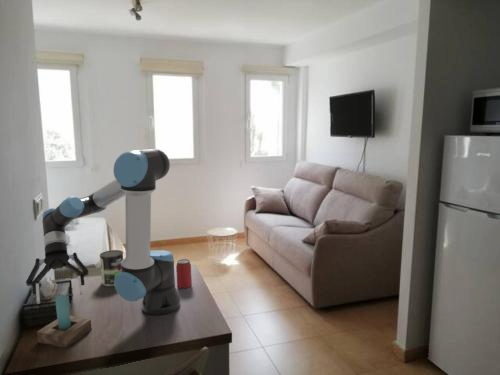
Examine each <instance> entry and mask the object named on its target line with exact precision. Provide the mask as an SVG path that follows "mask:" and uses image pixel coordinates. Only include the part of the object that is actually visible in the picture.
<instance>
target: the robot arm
mask: <svg viewBox="0 0 500 375" xmlns="http://www.w3.org/2000/svg"><path fill="white" fill-rule="evenodd" d="M170 168H171V164H170V160H169V157H168V155H167V154H166V153H165V152H164V151H162V150H161V149H158V148H147V149H146V148H145V149H135V150H134V149H132V150H130V151H125V152H123V153H121V154H120V155H119V156H118V157H117V158H116V159H115V162H114V164H113V176H114V178H115V179H113V180H112V181H111V182H108V183H107V184H105V185H104V186H103V187H101V188H99V189H98V190H96V191H94V192H93V193H91V194H89V195H88V196H84V197H81V198H80V197H78V196H68V197H67V198H65V199H64V200H62V201H61V203H59V205H58V206H57V207H56V208H55V207H54V208H48V209H46V210H45V211H43V213H42V222H41V224H42V231H43V242H44V243H43V245H44V258H43V259H42V258H35V263H34V266H33V268H32V270H31V271H30V274H29V275H28V277H27V279H26V281H25V283H26V286H27V287H31V288H32V290H31V291H32V294H33V295H34V296H35V295H36V297H35V298H36V304H37V305H38V304H40V305H41V301H40V300H41V298H40V297H41V296H40V284H39V283H40V282H41V281H42V280H43V278H44V277H45V275H47V274H48V273H49V272H50V271H51V270H57V269H63V267H64V268H66V269H67V270H69V271H70V272H72V273H73V274H74V275H76V276H77V277H78V278H77V280H78V288H79V296H83V289H82V288H83V287H82V286H84V285H85V277H86V276H89V270H88V269H87V267H86V266H85V264H84V263H83V262H82V261H81V260H80V259H79V257H78V255H77V252H73V254H68V245H67V239H66V238H67V237H66V227H67V226H68V225H69V224H71V222H73V221H74V220H77V219H81V218H83V217H86V216H90V215H93V214H97V213H98V214H99V213H101V212H103V211H104V210H106V209H107V207H108V206H109V205H112V204H113V203H115V202H116V201H119V200H120V199H121V198H123V197H125V258H123V260H122V262H121V273H119V274H118V275H117V276H116V277H115V280H114V286H113V287H114V289H115V291H116V292H117V294H118V295H119V296H120V297H121V298H122V299H123V300H125V301H128V302H137V301H139V300H141V299H142V302H141V307H142V308H141V309H142V311H143V312H144V313H146V314H148V315H152V316H160V315H161V316H162V315H166V314H170V313H173V312H175V311H177V310H178V309H179V308H180V306H181V298H180V296H179V293H178V290H177V289H176V281H175V280H176V279H175V278H176V276H175V259H174V254H173V252H171V251H169V250H161V249H158V250H157V249H156V250H151V228H152V227H151V224H152V222H151V221H152V220H151V219H152V218H151V216H152V214H151V213H152V194H153V192H154V191H156V181H158V180H161V179H163V178H164V177H166V176H167V174H168V173H169V171H170ZM69 260H71V261H74V263H75V264H76V265H77V267H78V268H79V269H78V268H77V267H76V266H75V265H73V264H72V263H70V261H69ZM43 264H45V265H44V268H43V269H41V271H40V272H39V273H38V271H39V269H40V267H41V266H42V265H43ZM37 273H38V274H37ZM36 275H37V276H36Z"/></svg>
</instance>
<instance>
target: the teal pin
mask: <svg viewBox="0 0 500 375" xmlns="http://www.w3.org/2000/svg"><path fill="white" fill-rule="evenodd" d="M54 301H55V310H56V317H57V319H58V329H59V330H61V331H66V330H67V329H69V328H70V327H71V320H70V316H71V312H70V299H69V295H68V294H61V295H57V296H56V297H55V300H54ZM57 319H56V320H57Z"/></svg>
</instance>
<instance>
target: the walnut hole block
mask: <svg viewBox="0 0 500 375" xmlns="http://www.w3.org/2000/svg"><path fill="white" fill-rule="evenodd" d="M70 320H71V327H70V328H69V329H67V330H66V331H61V330H59V329H58V319H55V320H53V321H52V322H50V323H49V324H46V325H45V326H43V327H42V328H41V329H39V330H38V331H36V334H37V342H38V344H43V345H48V346H54V347H58V348H63V349H67V348H69V347H70V346H72V345H73V344H74V343H76V342H77V341H78V340H80V339H81V338H82V337H84V336H85V335H86V334H88V333H89V332H91V331H92V319H90V318H85V317H80V316H79V317H78V316H73V315H70Z"/></svg>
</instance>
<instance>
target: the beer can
mask: <svg viewBox="0 0 500 375" xmlns="http://www.w3.org/2000/svg"><path fill="white" fill-rule="evenodd" d="M175 268H176V285H177V288H178V289H181V290H182V289H189V288H190V287H191V286H192V285H193V283H192V278H193V277H192V264H191V262H190V260H189V259H187V258H182V259H179V260H177V263H176V266H175Z"/></svg>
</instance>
